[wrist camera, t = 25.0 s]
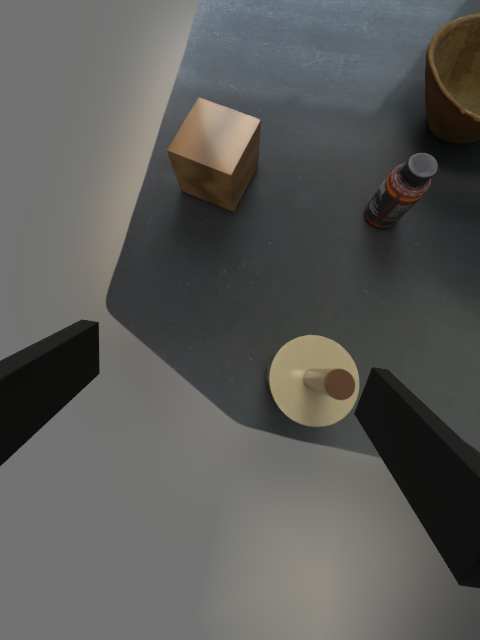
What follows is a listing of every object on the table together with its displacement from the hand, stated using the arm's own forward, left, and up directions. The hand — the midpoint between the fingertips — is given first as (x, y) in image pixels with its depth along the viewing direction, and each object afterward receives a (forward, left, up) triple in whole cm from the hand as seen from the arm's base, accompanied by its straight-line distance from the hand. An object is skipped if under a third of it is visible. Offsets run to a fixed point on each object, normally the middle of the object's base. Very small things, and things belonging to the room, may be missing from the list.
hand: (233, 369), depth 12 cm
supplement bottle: (+11, +36, -29) cm, 47 cm away
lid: (+8, +2, -18) cm, 20 cm away
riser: (-19, +31, -29) cm, 46 cm away
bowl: (+17, +60, -29) cm, 68 cm away
